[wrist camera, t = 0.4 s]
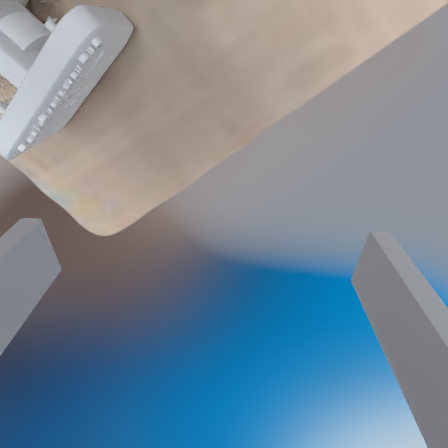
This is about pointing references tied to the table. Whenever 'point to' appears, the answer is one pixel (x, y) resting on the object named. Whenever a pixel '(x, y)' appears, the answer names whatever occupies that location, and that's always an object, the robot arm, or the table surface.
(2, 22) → the cable organizer
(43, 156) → the table surface
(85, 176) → the table surface
